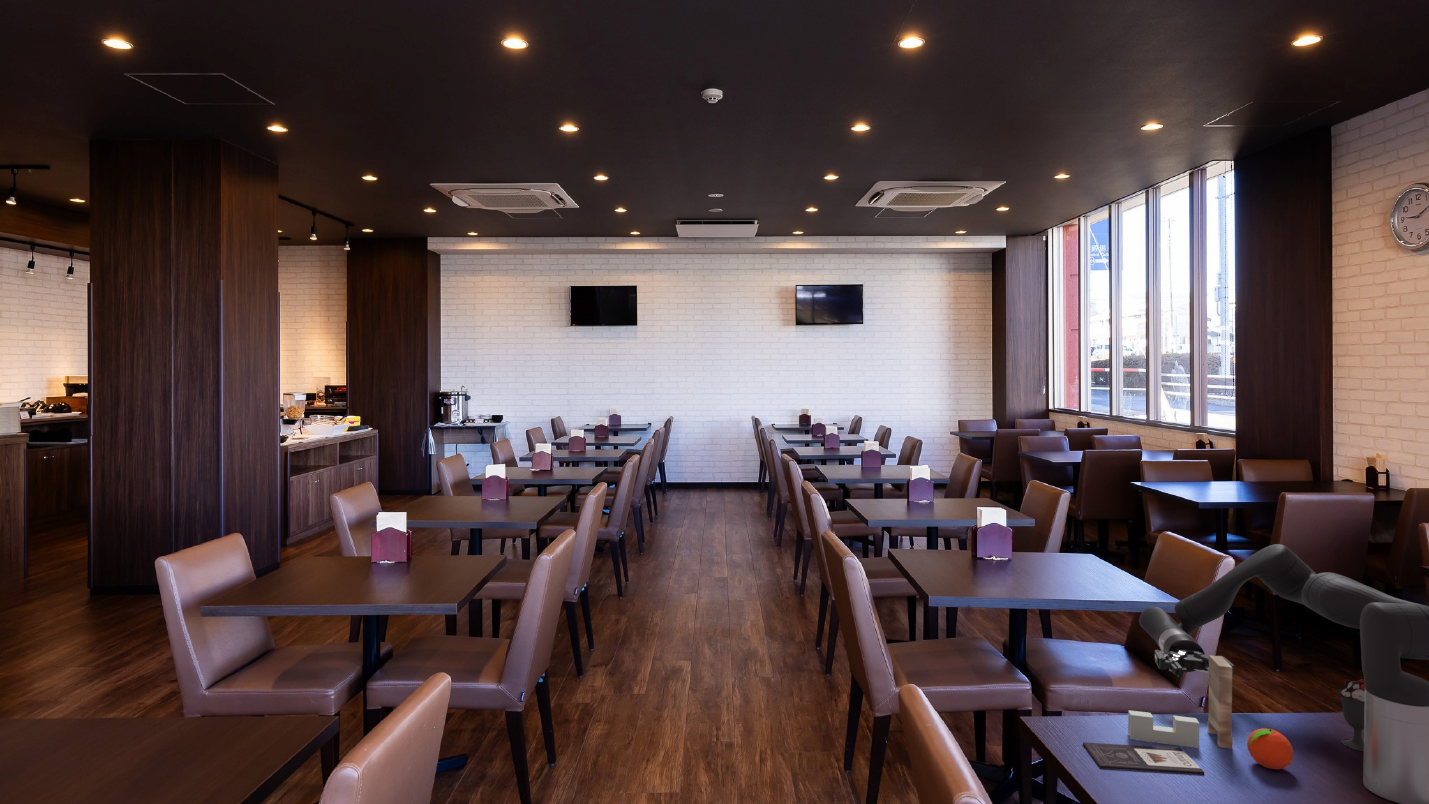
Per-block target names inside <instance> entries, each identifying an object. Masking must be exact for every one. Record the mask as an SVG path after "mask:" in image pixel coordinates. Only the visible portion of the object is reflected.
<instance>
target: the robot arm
mask: <svg viewBox="0 0 1429 804" xmlns="http://www.w3.org/2000/svg"><path fill="white" fill-rule="evenodd" d="M1255 577H1257V579H1259V580H1260V581H1261V582H1262V583H1263V584H1264V585H1266V587H1268V588H1269V589H1270V590H1271V591H1272V592H1273V593H1275V594H1276V595H1278V597H1280V598H1283V599H1285V600H1288V601H1292V602H1295V603H1298V604H1301V605H1304V606H1305V607H1307V608H1308V609H1310V611H1311V610H1312V611H1313V612H1315V613H1316V614H1318V615H1319V616H1321V617H1323V618H1326V619H1327V620H1329V621H1331V622H1333V623H1336V624H1339V625H1341V626H1342V625H1343V626H1345V627H1349V628H1352V629H1358V630H1359V635H1360V636H1359V637H1360V652H1361V654H1360V655H1361V656H1360V658H1361V670H1362V673H1363V674H1362V675H1363V678H1364V680H1365V708H1364V730H1363V742H1364V752H1363V766H1362V768H1363V770H1362V776H1363V777H1362V784H1363V786H1364V787H1365V788H1366V789H1367V790H1368V791H1370V792H1371V793H1373V794H1375V795H1376V796H1378V797H1380V798H1383V799H1385V800H1388V801H1392V802H1394V803H1398V804H1429V681H1428V680H1426V679H1424V678H1423V677H1419V676H1418V675H1414V674H1412V673H1409V672H1406V671H1404V670H1402V667H1401V666H1402V665H1401V659H1411V660H1425V661H1427V660H1428V661H1429V606H1428V605H1424V604H1421V603H1416V602H1413V601H1409V600H1404V599H1400V598H1398V597H1394V596H1392V595H1389V594H1387V593H1384V592H1383V591H1380V590H1378V589H1376V588H1373V587H1371V586H1368V585H1366V584H1364V583H1361V582H1359V581H1357V580H1354V579H1353V578H1350V577H1347V576H1345V575H1342V574H1339V573H1336V572H1330V571H1329V572H1325V571H1324V572H1320V573H1316V572H1315V571H1314V570H1313V569H1312V568H1311V567H1310V566H1309V565H1308V564H1306V562H1304V561H1303V560H1302V559H1301V558H1300V557H1299V556H1298V555H1297V554H1295V552H1293V550H1291V549H1290V548H1289V547H1288V546H1286V545H1284V544H1282V543H1281V544H1279V543H1277V544H1275V543H1274V544H1272V545H1271V544H1270V545H1268V546H1266V547H1264V548H1261V549H1260V550H1258V551H1257V552H1255V553H1253V554H1252V555H1251V556H1249V557H1247V558H1246V559H1245V560H1243V561H1242V562H1240V563H1239V564H1237V565H1236V566H1235V567H1233V568H1231V569H1230V570H1229V571H1228V572H1226V573H1225V574H1224V575H1222V576H1221V577H1220V578H1218V579H1217V580H1216V581H1214V582H1213V583H1211V584H1210V585H1208V586H1206V587H1204V588H1202V589H1201V590H1199V591H1197V592H1195V593H1193V594H1191V595H1189V596H1187V597H1185V598H1184V599H1181V600H1179V601H1178V602H1176V603H1175V604H1174V611H1175V614H1176V616H1177V618H1178V619H1179V621H1180V623H1177V621H1176V620H1174V618H1173V617H1172V616H1171V615H1170V614H1169V613H1168V612H1166V610H1165V609H1163V608H1161V607H1158V606H1150V607H1147V608H1145V609H1144V610H1142V612H1141V613H1140V615H1139V619H1138V621H1139V625H1140V627H1141V628H1142V629H1143V630H1144V631H1145V632H1146V633H1147V634H1148V635H1149V636H1150V637H1151V638H1152V639H1153V640H1154V641H1155V643H1156V644H1157V646H1158V647H1159V649H1160V650H1159V649H1155V650H1154V662H1155V664H1156V665H1157V667H1158V669H1159V670H1161V671H1165V670H1166V669H1168V671H1169V672H1171V673H1172V674H1173V675H1175V676H1176V677H1178V678H1183V672H1184V673H1192V672H1202V673H1204V674H1207V675H1209V655H1207V654H1206V653H1205V651H1204V649H1203V647H1202V646H1201V645H1200V644H1199V643H1198V642H1197V641H1196V640H1195V639H1194V638H1193V637H1192V636H1191V635H1192V634H1193V633H1194V632H1195V631H1196V630H1198V629H1199V628H1200V627H1202V626H1204V625H1207V624H1209V623H1211V622H1213V621H1215V620H1217V619H1219V618H1221V617H1222V616H1223V615H1225V614H1226V613H1227V612H1228V611H1229V609H1230V608H1231V607H1232V604H1233V603H1234V601H1235V598H1236V596H1237V594H1238V592H1239V590H1240V588H1241V587H1242V586H1243V585H1244V584H1245V583H1246V582H1248V581H1249V580H1251V579H1253V578H1255ZM1221 656H1222V657H1223V658H1224V659H1225V660H1226V661H1227V662H1228V664H1229V665H1230V666H1231V667H1232V678H1233V677H1234V674H1235V673H1234V671H1235V667H1234V664H1233V663H1232V662H1231V661H1230V660H1228V658H1226V657H1225V656H1224V655H1221Z"/></svg>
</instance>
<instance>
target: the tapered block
mask: <svg viewBox="0 0 1429 804" xmlns="http://www.w3.org/2000/svg"><path fill="white" fill-rule="evenodd" d="M1208 656H1209V667H1208V670H1209V674H1208V719H1207V732H1208V734H1209V735H1210V734H1211V735H1217V746H1218V747H1219V748H1222V749H1223V748H1224V749H1230V750H1231V749H1233V734H1232V732H1233V731H1232V726H1233V723H1232V722H1233V721H1232V717H1233V715H1232V714H1233V709H1232V708H1233V702H1232V701H1233V677H1232V667H1231V666H1230V665H1229V664H1228V662H1227V661H1226V660H1225V659H1224V658H1223V657H1224V656H1223V655H1208ZM1222 656H1223V657H1222Z"/></svg>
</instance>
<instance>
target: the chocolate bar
mask: <svg viewBox="0 0 1429 804" xmlns="http://www.w3.org/2000/svg"><path fill="white" fill-rule="evenodd" d="M1082 745H1083V747H1084V746H1085V747H1084V748H1085V749H1087V750H1086V751H1087V752H1088V754H1089V753H1090V754H1089V755H1090V757H1091V758H1092V759H1093V761H1094V762H1095V763H1096V765H1097V766H1098V767H1099V769H1104V770H1105V769H1106V770H1119V769H1122V770H1121V771H1123V770H1124V769H1125V770H1124V771H1135V772H1136V771H1137V772H1154V773H1169V774H1184V775H1187V774H1188V775H1203V776H1204V775H1205V771H1204V770H1203V769H1202V768H1201V767H1200V765H1198V764H1197V763H1196V762H1195V761H1194V760H1193V759H1192V758H1191V757H1190V755H1188V754H1187V753H1186V752H1185V751H1184V750H1183V749H1182V748H1181V747H1170V746H1169V747H1168V746H1154V745H1153V746H1151V745H1135V744H1134V745H1133V744H1119V743H1118V744H1117V743H1101V742H1082Z"/></svg>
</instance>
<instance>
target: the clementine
mask: <svg viewBox="0 0 1429 804" xmlns="http://www.w3.org/2000/svg"><path fill="white" fill-rule="evenodd" d="M1246 746H1247V751H1248V752H1249V754H1250V757H1252V759H1253V760H1254V761H1255V762H1256V763H1258V764H1259V765H1260V766H1262V767H1265V768H1267V769H1270V770H1281V769H1284V768H1285V769H1286V767H1288V766H1289V765H1290V764H1291V763H1292V761H1293V758H1294V749H1293V747H1292V744H1291V742H1290V741H1289V740H1288V739H1287V737H1286V736H1285V735H1283V734H1282V733H1280V732H1279V731H1277V730H1275V729H1272V728H1265V727H1263V728H1259V729H1255V730H1254V731H1252V732H1251V733H1250V734H1249V735H1248V737H1247V741H1246Z"/></svg>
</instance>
